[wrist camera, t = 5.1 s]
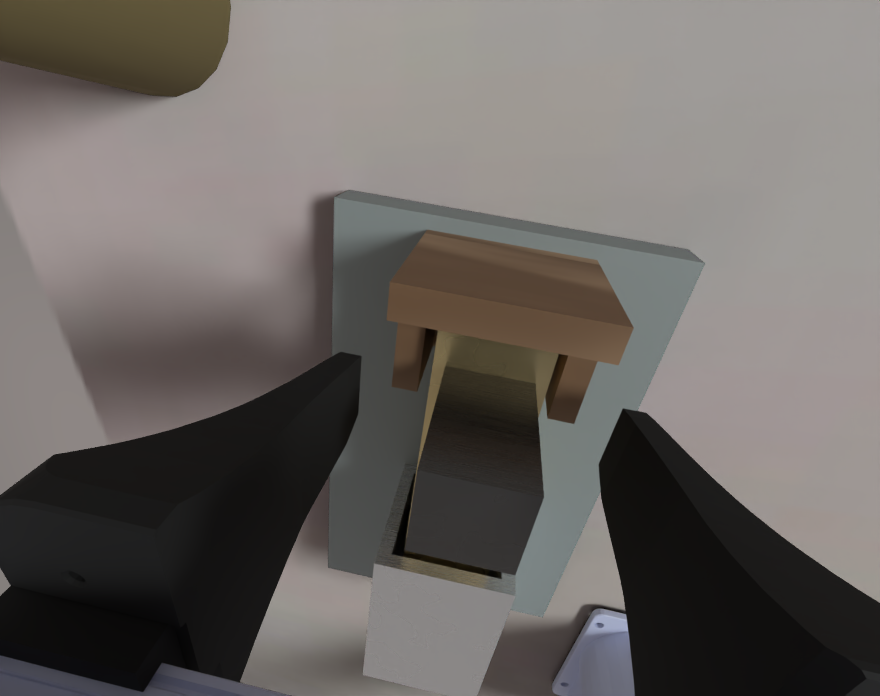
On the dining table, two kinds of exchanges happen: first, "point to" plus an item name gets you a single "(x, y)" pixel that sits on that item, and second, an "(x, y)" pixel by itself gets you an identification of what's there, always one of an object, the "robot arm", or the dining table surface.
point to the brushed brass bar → (479, 455)
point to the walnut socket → (507, 310)
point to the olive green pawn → (118, 40)
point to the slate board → (403, 411)
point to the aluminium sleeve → (431, 613)
